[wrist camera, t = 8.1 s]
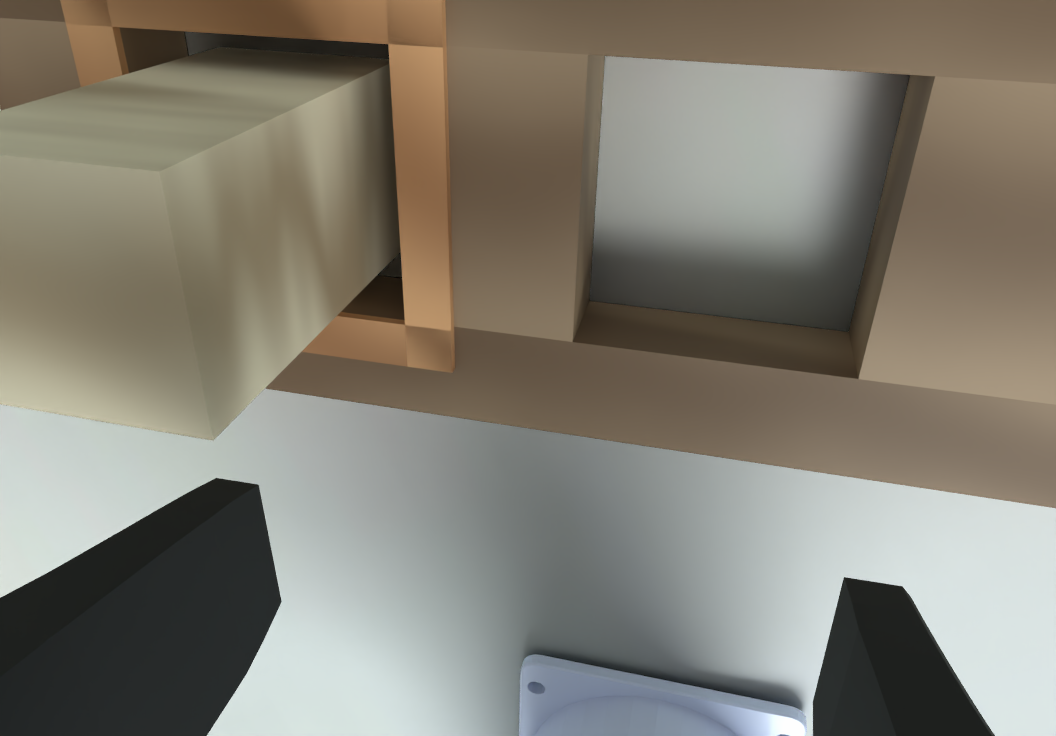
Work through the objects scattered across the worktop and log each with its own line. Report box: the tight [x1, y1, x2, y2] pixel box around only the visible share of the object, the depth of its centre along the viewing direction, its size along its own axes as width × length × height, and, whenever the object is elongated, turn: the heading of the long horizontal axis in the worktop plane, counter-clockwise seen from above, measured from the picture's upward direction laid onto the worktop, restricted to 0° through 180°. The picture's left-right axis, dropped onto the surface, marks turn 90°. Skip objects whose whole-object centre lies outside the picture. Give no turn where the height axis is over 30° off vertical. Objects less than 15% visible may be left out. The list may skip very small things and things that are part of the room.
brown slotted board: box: [0, 0, 1056, 508], centre depth 16 cm, size 10×30×2 cm, turn 89°
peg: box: [0, 47, 401, 440], centre depth 15 cm, size 4×4×8 cm
